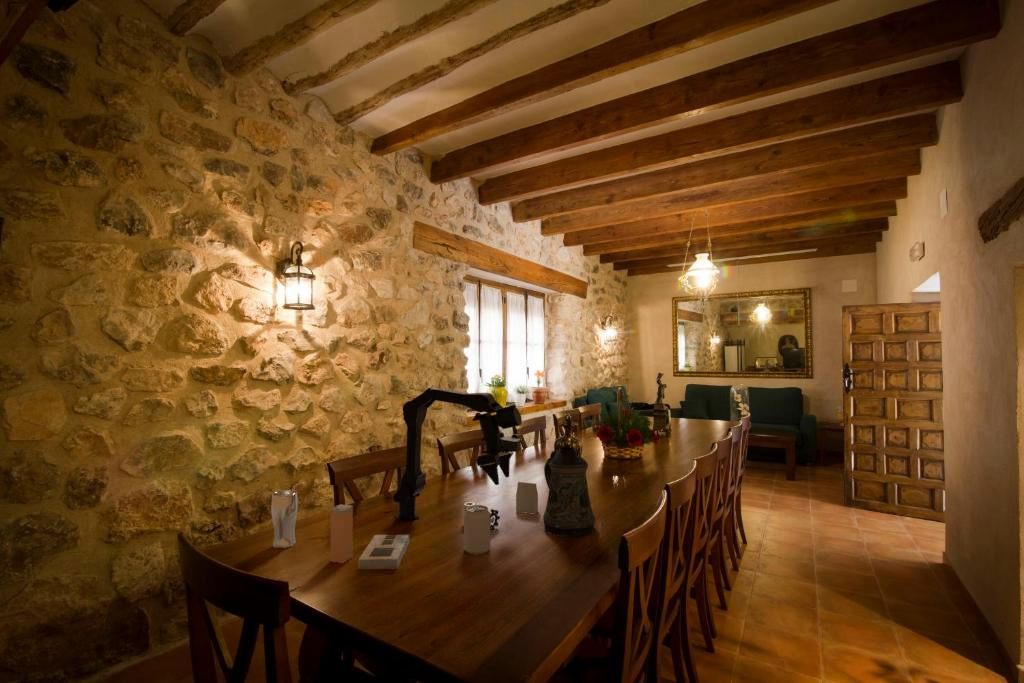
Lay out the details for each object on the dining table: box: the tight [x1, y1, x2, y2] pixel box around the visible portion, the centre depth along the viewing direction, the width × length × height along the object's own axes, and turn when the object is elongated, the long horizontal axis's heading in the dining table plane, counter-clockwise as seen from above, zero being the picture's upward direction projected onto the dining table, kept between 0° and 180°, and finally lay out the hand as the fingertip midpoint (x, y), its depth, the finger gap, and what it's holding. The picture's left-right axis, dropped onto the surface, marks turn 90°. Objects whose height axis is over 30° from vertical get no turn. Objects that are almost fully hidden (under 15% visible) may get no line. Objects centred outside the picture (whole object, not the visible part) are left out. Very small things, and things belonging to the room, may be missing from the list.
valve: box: [462, 501, 501, 531], centre depth 155 cm, size 7×7×12 cm
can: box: [463, 504, 491, 556], centre depth 137 cm, size 8×8×12 cm
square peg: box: [329, 503, 354, 564], centre depth 131 cm, size 4×4×14 cm
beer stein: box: [542, 446, 596, 538], centre depth 154 cm, size 16×19×25 cm
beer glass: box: [271, 489, 299, 549], centre depth 141 cm, size 7×7×15 cm
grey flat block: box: [357, 534, 410, 570], centre depth 133 cm, size 16×10×3 cm, turn 1°
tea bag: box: [515, 481, 539, 515], centre depth 169 cm, size 4×7×10 cm, turn 67°
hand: (502, 480), depth 152 cm, fingers open, 9 cm apart
